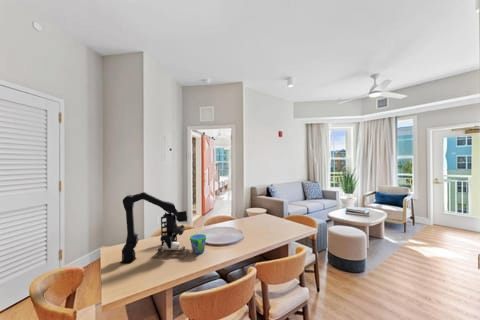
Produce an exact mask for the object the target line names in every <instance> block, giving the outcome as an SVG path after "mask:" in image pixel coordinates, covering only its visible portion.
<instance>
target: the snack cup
mask: <svg viewBox="0 0 480 320" xmlns="http://www.w3.org/2000/svg"><path fill="white" fill-rule="evenodd" d="M206 240H207V235H206V234H203V233H196V234H192V235H191V236H190V237H189V241H190V244H191V250H192V253H193V254H194V255H195V254H196V255H197V254H199V255H200V254H202V253H205V248H206Z"/></svg>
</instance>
